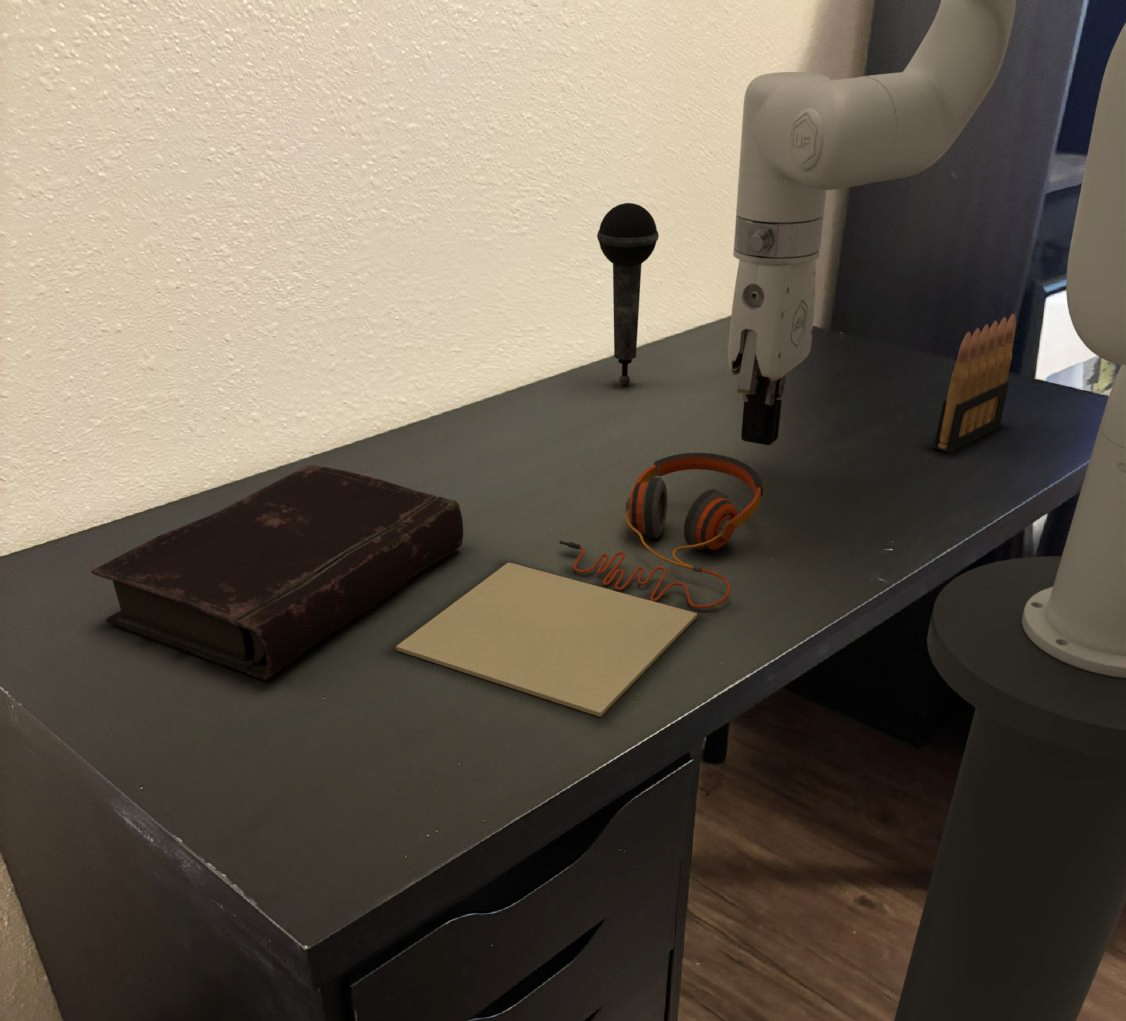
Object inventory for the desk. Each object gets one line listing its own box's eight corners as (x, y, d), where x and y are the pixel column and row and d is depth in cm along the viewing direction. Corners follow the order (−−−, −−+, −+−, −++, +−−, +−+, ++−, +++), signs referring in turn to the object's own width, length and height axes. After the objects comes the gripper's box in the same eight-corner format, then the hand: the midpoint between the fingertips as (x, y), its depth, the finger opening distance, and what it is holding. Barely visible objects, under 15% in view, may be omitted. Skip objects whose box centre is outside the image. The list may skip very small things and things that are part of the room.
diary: (467, 551, 98) (464, 499, 95) (274, 687, 81) (262, 628, 78) (307, 507, 106) (299, 457, 103) (100, 623, 89) (83, 567, 86)
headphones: (714, 642, 90) (808, 503, 101) (712, 592, 86) (810, 453, 97) (540, 593, 97) (645, 468, 108) (531, 545, 93) (640, 420, 104)
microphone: (628, 372, 137) (632, 194, 125) (664, 387, 132) (672, 204, 120) (584, 384, 133) (584, 202, 121) (620, 399, 129) (623, 212, 117)
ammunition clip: (948, 453, 115) (972, 335, 108) (932, 449, 116) (955, 331, 109) (1000, 427, 121) (1026, 313, 114) (984, 422, 122) (1009, 310, 115)
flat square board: (697, 617, 89) (697, 613, 88) (600, 717, 78) (600, 712, 77) (508, 566, 96) (508, 561, 96) (396, 650, 85) (395, 646, 85)
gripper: (787, 260, 90) (766, 474, 101) (846, 225, 101) (822, 422, 111) (703, 251, 93) (692, 459, 104) (768, 218, 104) (752, 411, 115)
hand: (759, 440), depth 108 cm, fingers closed
